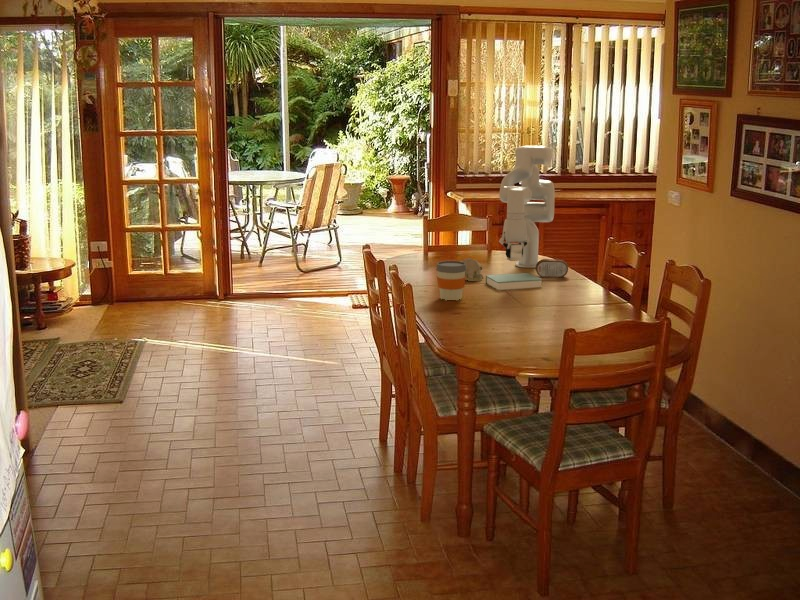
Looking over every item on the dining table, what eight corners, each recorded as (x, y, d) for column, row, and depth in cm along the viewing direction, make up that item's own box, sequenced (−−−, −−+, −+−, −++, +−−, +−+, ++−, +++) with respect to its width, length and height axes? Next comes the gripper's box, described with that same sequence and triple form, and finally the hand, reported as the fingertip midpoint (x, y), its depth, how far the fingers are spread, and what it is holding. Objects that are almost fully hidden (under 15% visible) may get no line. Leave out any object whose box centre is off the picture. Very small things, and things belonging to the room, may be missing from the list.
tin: (567, 276, 437) (568, 259, 435) (568, 278, 434) (568, 260, 432) (535, 276, 439) (535, 258, 437) (535, 277, 436) (536, 259, 434)
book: (485, 283, 424) (485, 275, 423) (528, 281, 429) (528, 272, 428) (497, 291, 409) (497, 282, 409) (541, 288, 415) (542, 279, 414)
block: (506, 259, 418) (507, 243, 416) (517, 258, 419) (517, 243, 418) (511, 261, 413) (511, 245, 412) (521, 260, 415) (522, 245, 413)
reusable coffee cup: (431, 296, 399) (431, 261, 395) (458, 293, 403) (458, 259, 399) (443, 302, 387) (443, 267, 384) (470, 300, 391) (471, 265, 388)
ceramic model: (487, 277, 436) (487, 256, 433) (478, 282, 426) (479, 261, 424) (459, 275, 442) (459, 254, 439) (450, 279, 432) (450, 258, 430)
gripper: (529, 214, 418) (528, 254, 422) (494, 216, 413) (493, 256, 417) (536, 217, 411) (535, 257, 415) (500, 218, 406) (499, 259, 410)
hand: (514, 256), depth 416 cm, fingers closed on block, 5 cm apart
